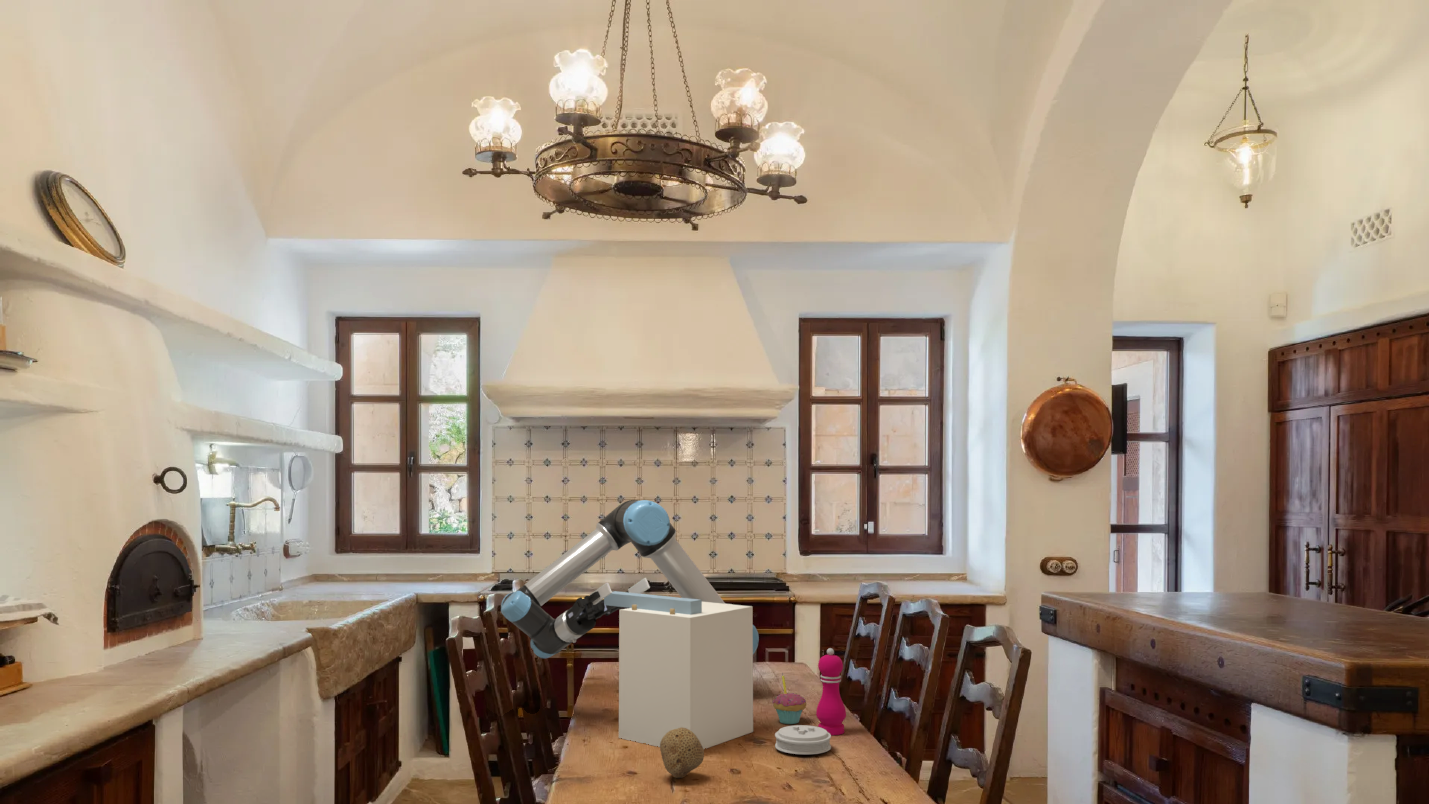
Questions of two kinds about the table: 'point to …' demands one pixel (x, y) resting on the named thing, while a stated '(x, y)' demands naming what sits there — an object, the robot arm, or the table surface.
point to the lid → (802, 739)
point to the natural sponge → (681, 752)
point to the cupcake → (789, 706)
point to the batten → (654, 602)
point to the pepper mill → (831, 695)
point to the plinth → (686, 673)
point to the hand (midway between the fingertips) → (628, 585)
